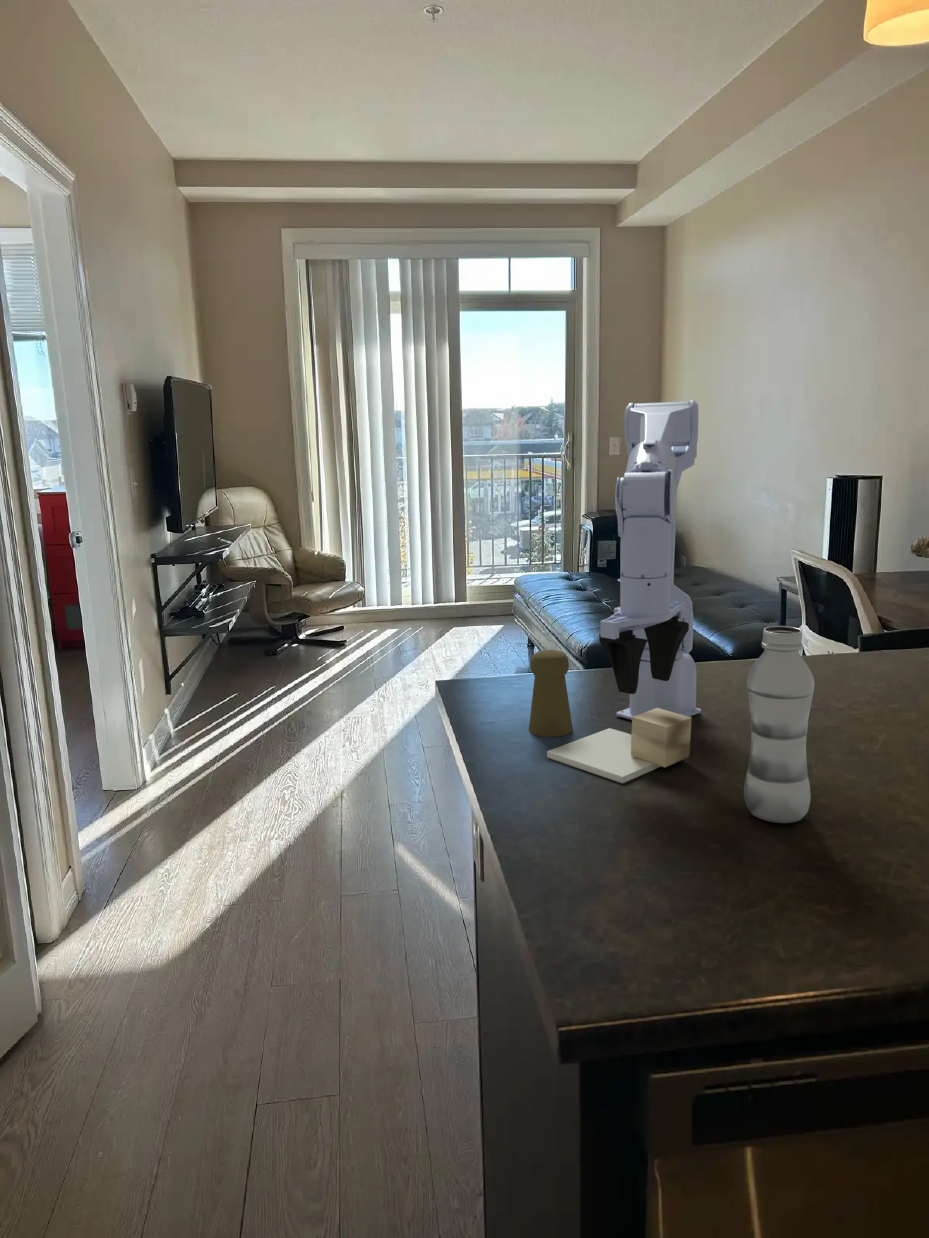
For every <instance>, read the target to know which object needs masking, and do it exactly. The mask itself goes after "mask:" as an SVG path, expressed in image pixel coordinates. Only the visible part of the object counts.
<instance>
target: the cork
mask: <svg viewBox="0 0 929 1238" xmlns="http://www.w3.org/2000/svg"><path fill="white" fill-rule="evenodd" d="M529 665H530V669H531V670H530V671H531V672H532V674H533V675H534V679H533V680H534V681H533V688H532V696H531V697H532V698H531V705H530V716H529V725H528V732H530V734H532V735H534V736H538V737H546V738H553V737H554V738H555V737H557V738H558V737H563V736H567V735H569V734H570V733H572V732H573V730H574V729H573V723H572V722H573V721H572V717H571V716H572V715H571V714H572V713H571V709H570V701H569V695H568V688H567V680H566V675H567V673H568V672H569V668H570V660H569V658H568V656H567V654H566V653H565V652H563V651H560V650H555V649H545V650H544V649H543V650H539V651H536V652H535V653H533V655H532V656H531V658H530V664H529Z"/></svg>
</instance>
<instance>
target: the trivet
mask: <svg viewBox="0 0 929 1238" xmlns="http://www.w3.org/2000/svg"><path fill="white" fill-rule="evenodd" d="M631 737H632V733H631V734H630V733H627V732H624V731H620V730H617V729H613V728H611V727H608V728H605V729H604V730H601V731H598V732H595V733H593V734H590V735H587V736H585V737H581V738H579V739H577V740H574V741H572V742H569V743H566V744H563V745H561V746H559V747H555V748H553V749H549V750H547V751H546V757H547V758H548V759H550V760H554V761H556V762H560V763H563V764H565V765H568V766H570V767H573V768H577V769H580V770H583V771H586V772H589V773H592V774H594V775H597V776H600V777H603V778H606V779H607V780H608V779H609V780H612V781H614V782H617V783H619V784H625V783H627V782H629V781H631V780H634V779H636V778H639V777H640V776H642V775H645V774H648V773H649V772H651V771H654V770H656V769H658V768H661V767H662V766H659V765H656V764H653V763H650V762H647V761H644V760H642V759H639V758H636V757H633V756H631Z"/></svg>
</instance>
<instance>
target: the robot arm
mask: <svg viewBox="0 0 929 1238" xmlns="http://www.w3.org/2000/svg"><path fill="white" fill-rule="evenodd" d="M623 419H624V422H623V423H624V425H623V426H624V427H623V428H624V429H623V430H624V432H623V433H624V443H625V447H626V453H627V454H626V456H627V459H628V460H627V465H626V467H625V472H624V476H617V478H616V482H615V483H616V484H615V494H614V495H615V496H614V497H615V498H614V503H615V504H614V505H615V506H614V507H615V512H616V519H617V533H618V537H620V542H619V543H620V545H619V546H620V547H619V548H620V549H619V550H620V554H619V555H620V566H619V567H620V571H619V572H620V575H619V576H620V581H619V583H620V588H619V589H620V599H619V600H620V606H618V607H614V608H613V614H612V615H610V616H609V617H608V618H605V619H602V620H600V623H599V624H600V633H599V634H598V639H599V640H598V641H599V643H600V644H601V646H602V648H603V649H604V651H605V653H606V655H607V657H608V659H609V662H610V665H611V668H612V670H613V673H614V674H613V675H614V677H615V681H616V684H617V685H616V686H617V690H618V692H620V693H625V694H629V707H627V708H625V709H623V710H619V711H616V716H617V717H619V718H623V719H628V720H630V721H632V717H633V716H636V715H639V714H642V713H644V712H647V711H650V710H652V709H655V708H660V709H663V710H667V711H670V712H674V713H677V714H681V715H684V716H688V717H692V716H694V715H698V714H700V713H701V712H702V709H701V708H698V707H696V706H697V666H696V663H695V660H694V659H693V657H692V655H691V654H690V652H691V651H692V649H693V643H694V642H693V640H694V639H693V638H694V612H693V610H694V609H693V608H694V607H693V600H691V597H690V595H688V594H687V593H686V592H684V591H683V590H682V589H680V588H679V587H678V586H677V585H675V583H674V575H675V573H674V572H675V551H676V527H677V526H676V525H677V524H676V523H677V522H676V521H677V499H678V488H679V483H680V480H681V477H682V474H683V472H684V471H686V470H688V469H690V468H691V467H693V466H695V463H696V462H695V461H696V460H695V459H696V458H697V456H698V455H697V453H698V450H697V449H698V440H699V404H698V403H697V402H696V400H695V399H690V401H688V400H685V401H665V402H663V401H662V402H646V403H645V402H641V403H640V402H639V403H634V402H629V403H628V405H627V406H626V407H625V409H624V418H623Z"/></svg>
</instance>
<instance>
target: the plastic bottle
mask: <svg viewBox="0 0 929 1238" xmlns="http://www.w3.org/2000/svg"><path fill="white" fill-rule="evenodd" d="M802 641H803V630H802V629H801V628H799V627H795V626H786V625H770V626H767V627H764V628H763V633H762V640H761V648H762V649H764V650H763V652H762V654H761V655H760V656H759V657H758V658H757V659H756V660H755V662H754V663H753V665H752V666H751V668H750V669H749V672H748V674H747V677H746V688H747V697H748V703H749V712H750V729H751V732H750V736H751V737H750V738H751V739H750V741H751V742H750V751H749V759H748V766H747V767H748V769H747V770H746V775H745V778H744V779H745V780H744V786H743V797H744V802H745V805H746V807H747V809H748V811H750V813H751V815H753V816H754V817H756V818H757V819H760V820H763V821H766V822H769V823H776V824H777V823H778V824H789V823H797V822H799V821H801V820H802V819H803V818H804V817H805V816H806V815H807V813H808V812H809V810H810V804H811V798H812V797H811V796H812V795H811V786H810V785H811V784H810V781H809V776H808V762H807V738H808V737H807V734H808V727H809V726H808V725H809V717H810V714H811V713H810V711H811V708H812V702H813V698H814V691H815V690H814V689H815V684H816V683H815V679H814V675H813V672H812V671H811V670H810V667H809V666H808V664H807V663H806V661H805V660H804V658H803V657H802V656H801V654H800V651H802V650H803V646H804V645H803V642H802Z"/></svg>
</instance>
